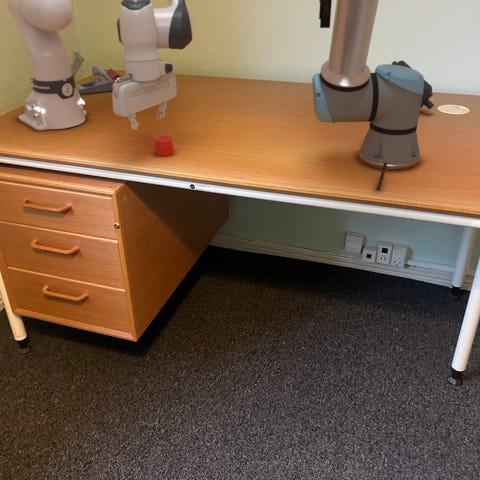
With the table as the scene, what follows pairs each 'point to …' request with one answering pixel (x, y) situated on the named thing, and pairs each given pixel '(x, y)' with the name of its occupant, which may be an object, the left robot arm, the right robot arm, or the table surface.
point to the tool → (426, 89)
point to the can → (164, 145)
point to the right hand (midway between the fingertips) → (324, 23)
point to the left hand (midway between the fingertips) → (148, 123)
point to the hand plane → (99, 83)
